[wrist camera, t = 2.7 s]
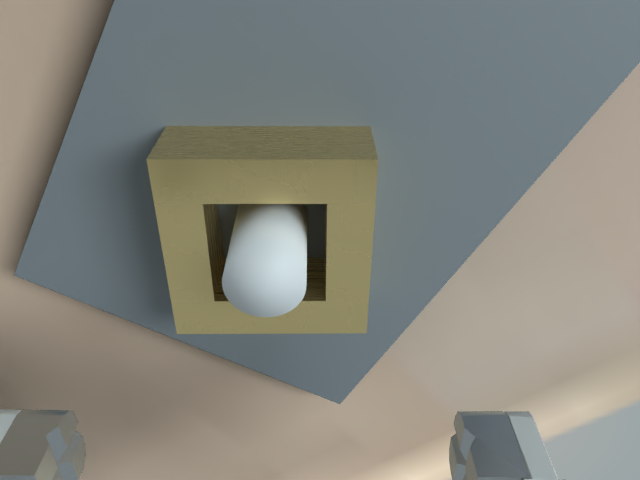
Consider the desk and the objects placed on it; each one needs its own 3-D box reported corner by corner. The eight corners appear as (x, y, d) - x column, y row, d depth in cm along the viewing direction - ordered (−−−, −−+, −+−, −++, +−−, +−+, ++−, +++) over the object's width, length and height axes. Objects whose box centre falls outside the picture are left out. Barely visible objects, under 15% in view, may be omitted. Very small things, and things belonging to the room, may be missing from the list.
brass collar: (190, 288, 21) (176, 333, 19) (166, 125, 18) (146, 159, 16) (361, 288, 21) (366, 333, 19) (370, 126, 18) (378, 159, 16)
